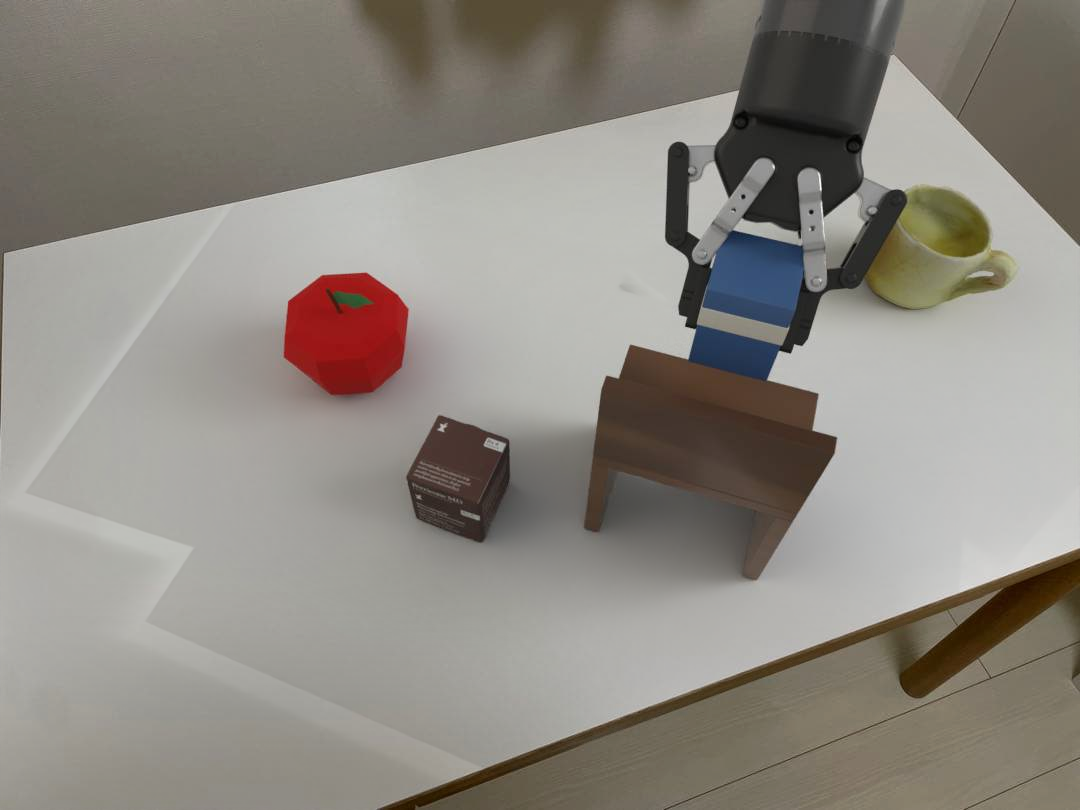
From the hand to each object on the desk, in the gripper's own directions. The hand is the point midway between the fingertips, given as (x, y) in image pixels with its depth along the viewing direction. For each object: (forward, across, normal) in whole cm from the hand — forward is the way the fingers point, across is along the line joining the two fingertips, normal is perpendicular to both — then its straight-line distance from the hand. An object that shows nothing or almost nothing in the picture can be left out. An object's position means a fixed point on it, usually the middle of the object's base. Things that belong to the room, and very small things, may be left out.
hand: (737, 337), depth 51 cm
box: (+20, -17, +11) cm, 28 cm away
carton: (+1, 0, +3) cm, 3 cm away
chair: (+15, 0, +15) cm, 22 cm away
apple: (+13, -31, +18) cm, 38 cm away
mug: (-5, +17, +36) cm, 40 cm away
